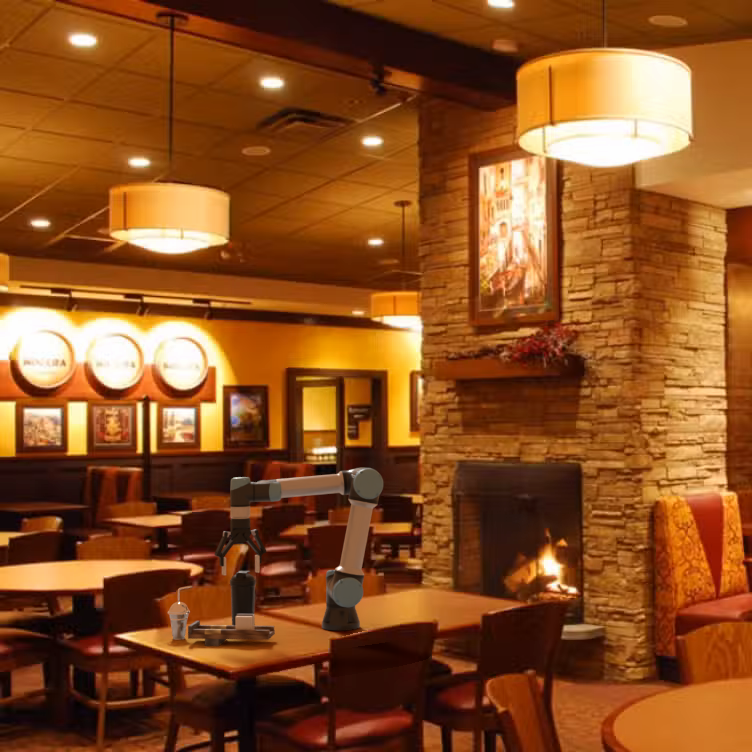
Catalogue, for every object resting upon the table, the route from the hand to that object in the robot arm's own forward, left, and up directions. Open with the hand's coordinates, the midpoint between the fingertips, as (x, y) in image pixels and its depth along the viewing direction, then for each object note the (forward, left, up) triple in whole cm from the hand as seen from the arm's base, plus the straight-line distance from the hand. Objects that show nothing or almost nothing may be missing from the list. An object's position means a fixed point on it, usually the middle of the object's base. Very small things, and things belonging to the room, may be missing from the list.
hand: (240, 573), depth 427 cm
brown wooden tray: (+1, +11, -24) cm, 26 cm away
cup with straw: (+23, +4, -24) cm, 34 cm away
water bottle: (+3, -16, -24) cm, 30 cm away
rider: (-4, +11, -20) cm, 23 cm away
